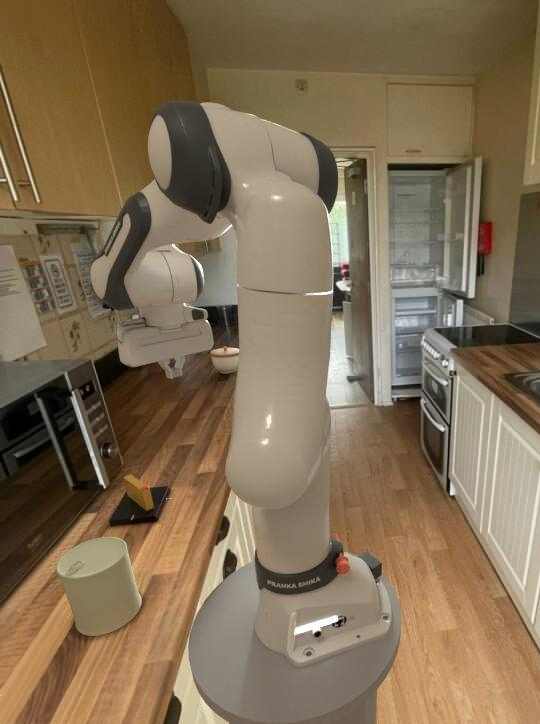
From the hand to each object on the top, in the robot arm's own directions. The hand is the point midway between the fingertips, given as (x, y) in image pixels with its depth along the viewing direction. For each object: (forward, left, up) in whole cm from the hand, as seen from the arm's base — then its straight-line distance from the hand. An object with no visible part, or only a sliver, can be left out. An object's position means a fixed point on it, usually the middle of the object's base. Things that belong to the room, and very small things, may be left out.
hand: (174, 376), depth 96 cm
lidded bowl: (+1, -94, -27) cm, 98 cm away
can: (+6, +40, -27) cm, 49 cm away
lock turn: (+9, +10, -26) cm, 29 cm away
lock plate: (+9, +10, -27) cm, 30 cm away
